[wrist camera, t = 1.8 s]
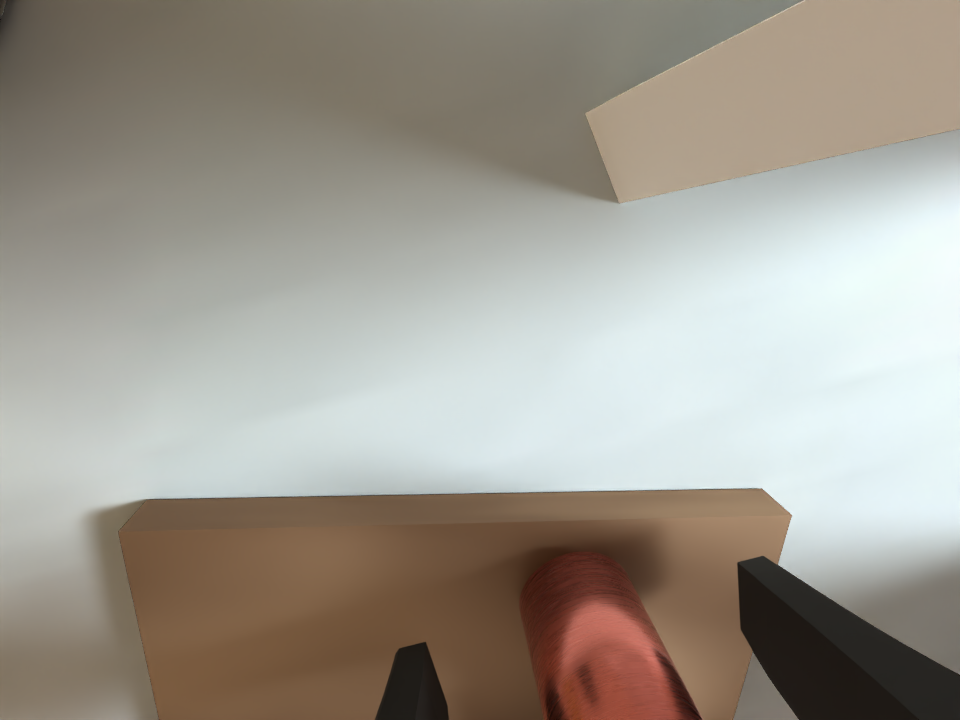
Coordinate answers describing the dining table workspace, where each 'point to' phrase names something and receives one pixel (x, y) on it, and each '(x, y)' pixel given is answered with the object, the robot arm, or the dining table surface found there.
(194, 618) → the cracker base
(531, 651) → the lever
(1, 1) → the supplement bottle
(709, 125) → the white bracket plate
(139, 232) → the dining table surface
